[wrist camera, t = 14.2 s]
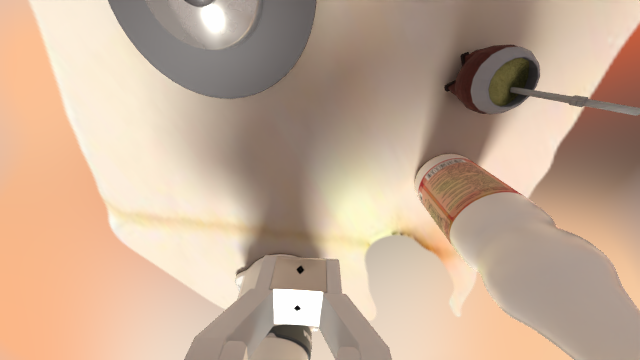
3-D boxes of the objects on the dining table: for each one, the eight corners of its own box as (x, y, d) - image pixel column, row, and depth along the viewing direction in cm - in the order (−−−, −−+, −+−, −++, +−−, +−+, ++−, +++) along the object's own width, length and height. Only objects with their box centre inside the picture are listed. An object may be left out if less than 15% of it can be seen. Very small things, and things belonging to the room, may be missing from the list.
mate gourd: (435, 64, 30) (528, 69, 17) (499, 31, 29) (657, 9, 15) (448, 116, 33) (535, 156, 20) (506, 90, 32) (643, 114, 18)
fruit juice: (429, 145, 35) (697, 355, 10) (484, 160, 36) (843, 380, 12) (403, 197, 39) (549, 436, 15) (453, 209, 41) (668, 448, 16)
